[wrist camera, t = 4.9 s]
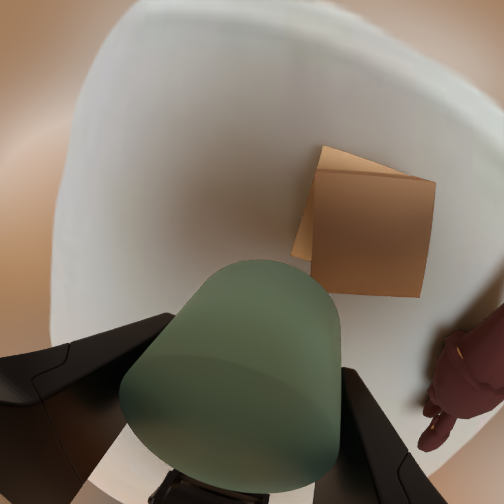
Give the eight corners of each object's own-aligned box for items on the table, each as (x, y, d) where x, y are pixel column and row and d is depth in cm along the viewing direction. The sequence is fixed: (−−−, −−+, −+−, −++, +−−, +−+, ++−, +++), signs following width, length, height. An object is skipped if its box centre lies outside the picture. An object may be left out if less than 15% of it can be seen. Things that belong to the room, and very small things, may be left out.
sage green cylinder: (311, 399, 10) (294, 506, 6) (186, 360, 11) (127, 450, 7) (363, 286, 8) (383, 400, 4) (203, 240, 9) (112, 315, 5)
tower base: (382, 266, 19) (392, 288, 16) (296, 237, 20) (290, 255, 17) (413, 179, 17) (431, 185, 14) (323, 146, 18) (323, 145, 14)
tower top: (403, 269, 15) (419, 297, 12) (313, 263, 16) (309, 291, 13) (413, 176, 14) (435, 182, 11) (316, 168, 15) (314, 172, 12)
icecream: (514, 270, 11) (378, 446, 17) (590, 322, 8) (452, 473, 15) (486, 235, 17) (393, 387, 23) (553, 278, 14) (455, 415, 21)
